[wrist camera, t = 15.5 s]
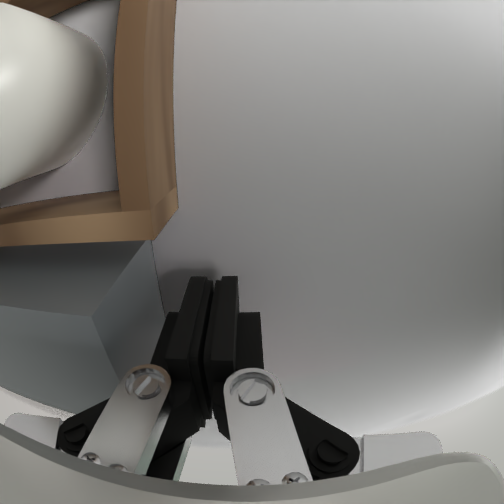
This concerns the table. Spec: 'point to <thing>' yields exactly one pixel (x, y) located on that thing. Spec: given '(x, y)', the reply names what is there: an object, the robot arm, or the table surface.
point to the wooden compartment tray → (118, 140)
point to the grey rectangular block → (76, 319)
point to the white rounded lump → (45, 93)
